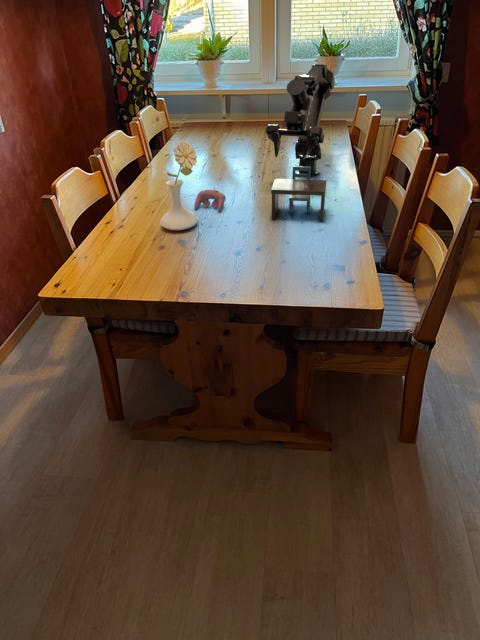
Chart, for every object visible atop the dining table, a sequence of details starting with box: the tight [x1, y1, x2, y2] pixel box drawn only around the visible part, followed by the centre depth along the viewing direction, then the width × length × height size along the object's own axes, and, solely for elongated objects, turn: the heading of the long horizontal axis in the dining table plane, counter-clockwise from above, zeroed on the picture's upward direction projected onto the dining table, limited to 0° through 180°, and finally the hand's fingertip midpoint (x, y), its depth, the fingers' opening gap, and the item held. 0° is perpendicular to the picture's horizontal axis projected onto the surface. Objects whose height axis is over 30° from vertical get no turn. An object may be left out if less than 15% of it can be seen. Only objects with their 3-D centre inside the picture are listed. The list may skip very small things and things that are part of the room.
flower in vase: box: [159, 140, 198, 231], centre depth 146 cm, size 13×11×25 cm
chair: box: [288, 165, 312, 215], centre depth 157 cm, size 7×6×13 cm
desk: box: [270, 178, 328, 223], centre depth 154 cm, size 10×16×10 cm, turn 79°
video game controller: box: [193, 189, 226, 213], centre depth 162 cm, size 10×5×7 cm, turn 71°
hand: (289, 157), depth 161 cm, fingers open, 9 cm apart
